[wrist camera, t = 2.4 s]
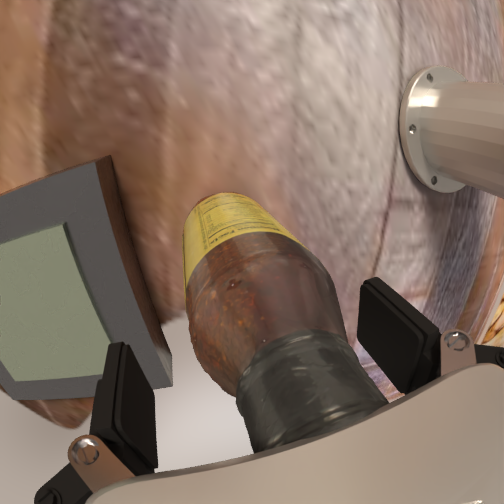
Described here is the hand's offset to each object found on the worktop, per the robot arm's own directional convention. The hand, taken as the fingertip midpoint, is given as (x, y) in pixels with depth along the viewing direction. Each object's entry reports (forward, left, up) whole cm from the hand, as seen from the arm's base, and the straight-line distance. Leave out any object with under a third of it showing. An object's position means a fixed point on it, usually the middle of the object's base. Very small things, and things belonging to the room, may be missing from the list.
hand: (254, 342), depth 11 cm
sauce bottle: (-1, 0, -13) cm, 13 cm away
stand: (+15, +2, -13) cm, 20 cm away
